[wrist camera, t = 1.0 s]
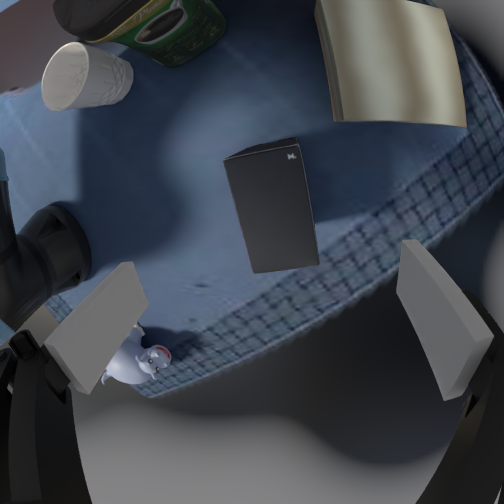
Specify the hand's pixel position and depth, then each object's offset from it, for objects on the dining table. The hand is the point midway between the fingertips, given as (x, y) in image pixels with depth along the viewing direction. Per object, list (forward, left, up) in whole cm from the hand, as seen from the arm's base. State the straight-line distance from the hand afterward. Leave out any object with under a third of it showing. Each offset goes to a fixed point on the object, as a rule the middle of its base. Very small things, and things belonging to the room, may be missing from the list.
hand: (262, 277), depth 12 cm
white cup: (-19, +18, -21) cm, 33 cm away
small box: (0, 0, -21) cm, 21 cm away
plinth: (+14, +14, -20) cm, 28 cm away
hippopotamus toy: (-27, -25, -21) cm, 42 cm away
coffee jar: (-8, +21, -21) cm, 30 cm away
